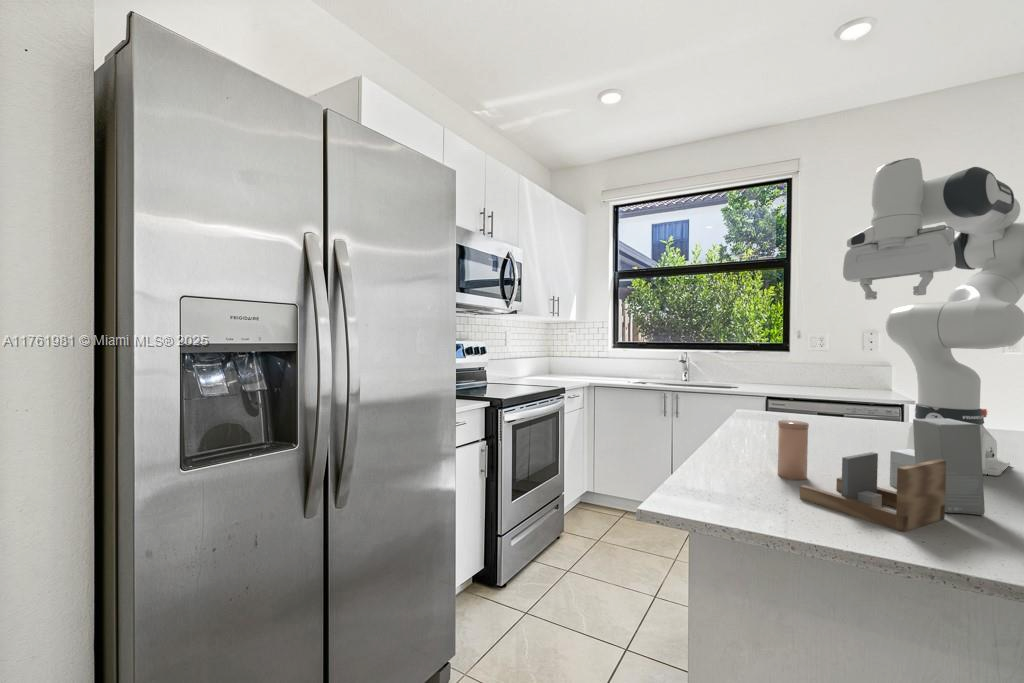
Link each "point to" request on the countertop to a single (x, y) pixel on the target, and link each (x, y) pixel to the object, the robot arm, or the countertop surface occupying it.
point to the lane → (895, 498)
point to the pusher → (861, 478)
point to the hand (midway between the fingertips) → (894, 297)
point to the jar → (792, 449)
